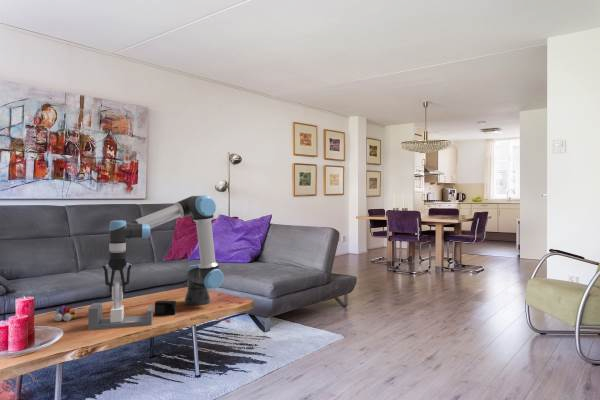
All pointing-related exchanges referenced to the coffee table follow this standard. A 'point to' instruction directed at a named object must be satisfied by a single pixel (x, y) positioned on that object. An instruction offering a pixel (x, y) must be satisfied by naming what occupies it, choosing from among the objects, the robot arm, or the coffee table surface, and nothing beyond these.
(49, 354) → the coffee table surface
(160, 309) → the digital camera
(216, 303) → the coffee table surface
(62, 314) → the rainbow disc rattle
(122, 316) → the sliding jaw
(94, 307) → the bench clamp
